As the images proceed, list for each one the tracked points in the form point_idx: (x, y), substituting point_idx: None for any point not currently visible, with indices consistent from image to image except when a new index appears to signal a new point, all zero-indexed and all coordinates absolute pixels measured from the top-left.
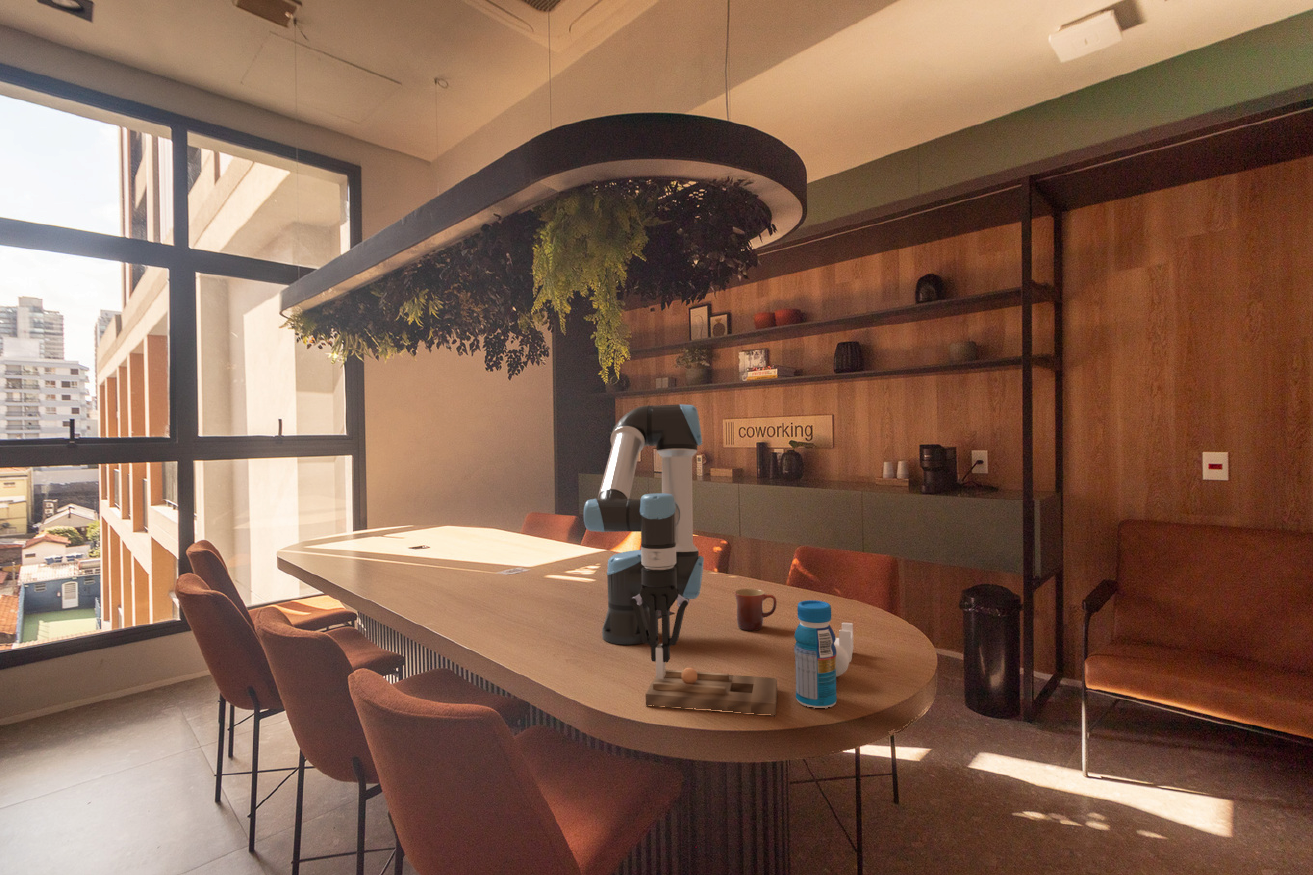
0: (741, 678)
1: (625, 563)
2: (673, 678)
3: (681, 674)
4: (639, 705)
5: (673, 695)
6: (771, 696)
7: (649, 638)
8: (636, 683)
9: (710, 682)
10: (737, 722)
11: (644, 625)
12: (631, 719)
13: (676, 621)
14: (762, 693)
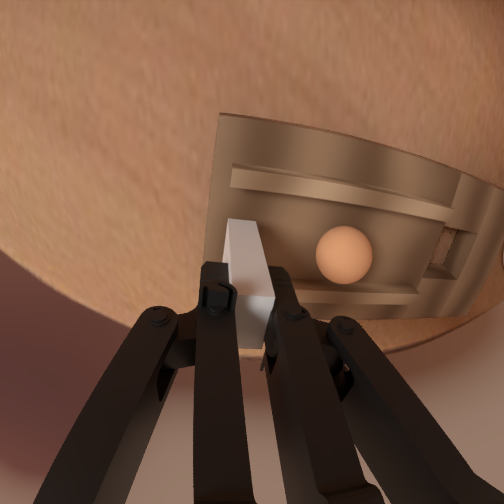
0: (470, 198)
1: None
2: (282, 197)
3: (319, 259)
4: (182, 288)
5: None
6: (476, 288)
7: (184, 362)
8: (138, 139)
9: (396, 227)
10: (393, 329)
11: (146, 434)
12: None
13: (376, 464)
14: (471, 278)
